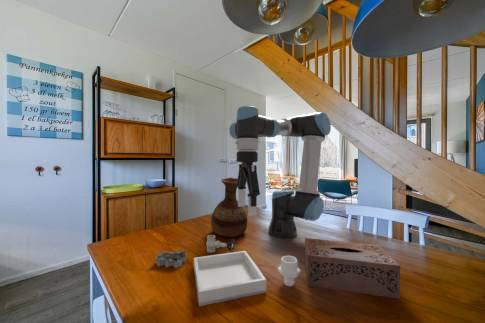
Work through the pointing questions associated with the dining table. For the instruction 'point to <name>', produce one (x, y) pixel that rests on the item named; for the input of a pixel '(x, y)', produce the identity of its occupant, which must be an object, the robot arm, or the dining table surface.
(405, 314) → the dining table surface
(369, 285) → the tissue box cover
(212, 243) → the valve
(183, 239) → the dining table surface
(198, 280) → the tray
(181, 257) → the grey open frame part
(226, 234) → the brown vase
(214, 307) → the dining table surface
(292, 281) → the pipe fitting
